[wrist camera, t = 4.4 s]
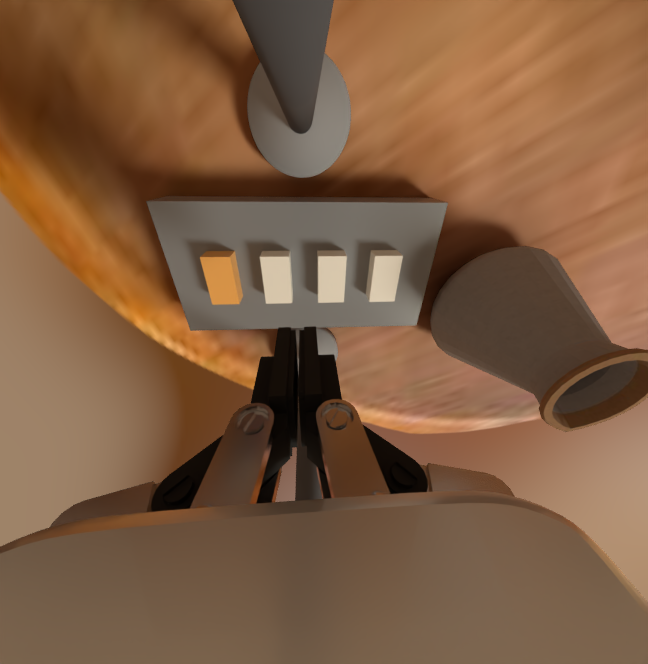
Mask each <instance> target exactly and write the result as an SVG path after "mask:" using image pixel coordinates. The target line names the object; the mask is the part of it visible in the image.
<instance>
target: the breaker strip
mask: <svg viewBox="0 0 648 664" xmlns="http://www.w3.org/2000/svg"><path fill="white" fill-rule="evenodd" d="M146 202H147V205H148V208H149V211H150V214H151V217H152V220H153V222H154V225H155V228H156V231H157V234H158V237H159V240H160V243H161V246H162V249H163V252H164V254H165V257H166V260H167V263H168V266H169V269H170V272H171V275H172V278H173V281H174V284H175V286H176V289H177V292H178V295H179V298H180V301H181V304H182V307H183V310H184V313H185V316H186V319H187V321H188V324H189V327H190V330H191V331H192V330H235V329H278V328H279V327H291V328H304V327H311V326H316V328H322V327H365V326H408V325H417V321H418V317H419V313H420V309H421V305H422V301H423V297H424V294H425V290H426V286H427V282H428V278H429V274H430V270H431V267H432V263H433V259H434V255H435V251H436V247H437V243H438V239H439V236H440V232H441V228H442V224H443V220H444V216H445V212H446V209H447V205H448V203H447V202H443V201H440V200H436V199H433V198H402V197H252V196H165V197H161V198H157V199H153V200H149V201H146Z"/></svg>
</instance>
